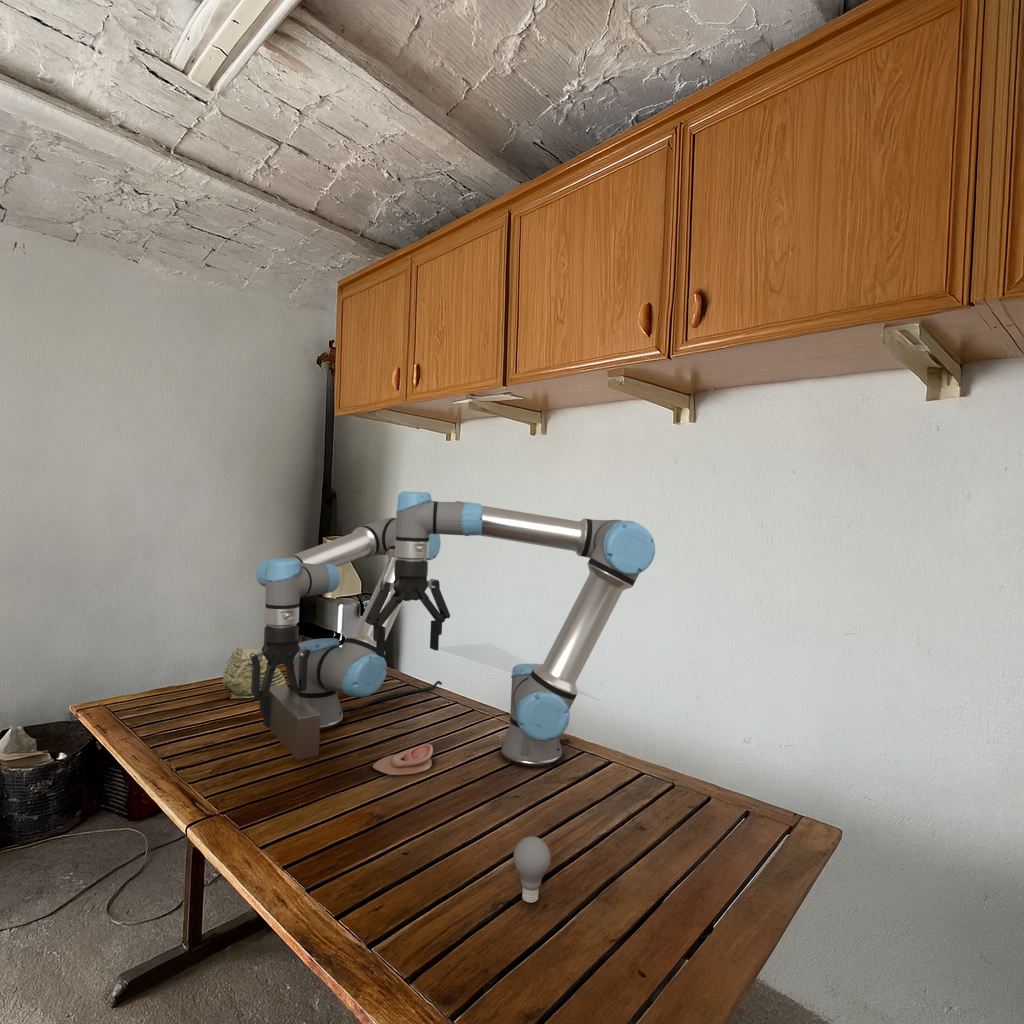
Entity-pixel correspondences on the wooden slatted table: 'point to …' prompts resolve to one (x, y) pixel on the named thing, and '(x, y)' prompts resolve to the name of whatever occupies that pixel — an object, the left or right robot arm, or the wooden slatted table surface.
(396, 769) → the anatomical model
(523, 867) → the light bulb
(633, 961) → the wooden slatted table surface
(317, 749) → the bar
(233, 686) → the fossil
